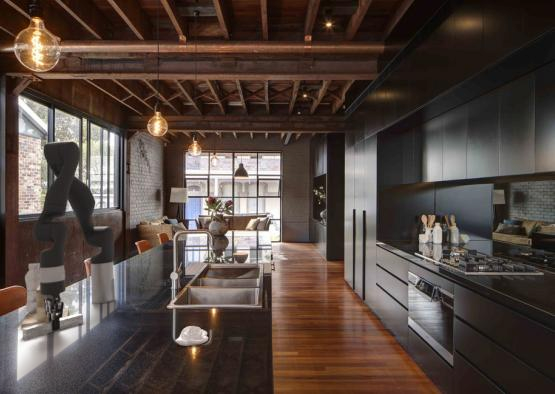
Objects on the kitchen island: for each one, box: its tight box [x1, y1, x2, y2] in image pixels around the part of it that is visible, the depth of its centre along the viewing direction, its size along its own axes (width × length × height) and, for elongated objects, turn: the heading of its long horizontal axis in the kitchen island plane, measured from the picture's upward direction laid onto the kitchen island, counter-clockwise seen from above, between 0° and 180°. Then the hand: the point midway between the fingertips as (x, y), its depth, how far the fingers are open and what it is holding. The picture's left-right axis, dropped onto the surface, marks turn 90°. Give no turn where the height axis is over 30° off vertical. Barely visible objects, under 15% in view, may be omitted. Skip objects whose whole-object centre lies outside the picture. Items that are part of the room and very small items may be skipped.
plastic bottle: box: [24, 262, 40, 314], centre depth 149 cm, size 6×7×20 cm
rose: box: [175, 325, 209, 347], centre depth 111 cm, size 10×4×10 cm
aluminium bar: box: [21, 313, 84, 340], centre depth 126 cm, size 18×3×3 cm, turn 143°
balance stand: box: [20, 285, 70, 329], centre depth 138 cm, size 14×14×14 cm
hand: (54, 328), depth 126 cm, fingers closed on aluminium bar, 3 cm apart
